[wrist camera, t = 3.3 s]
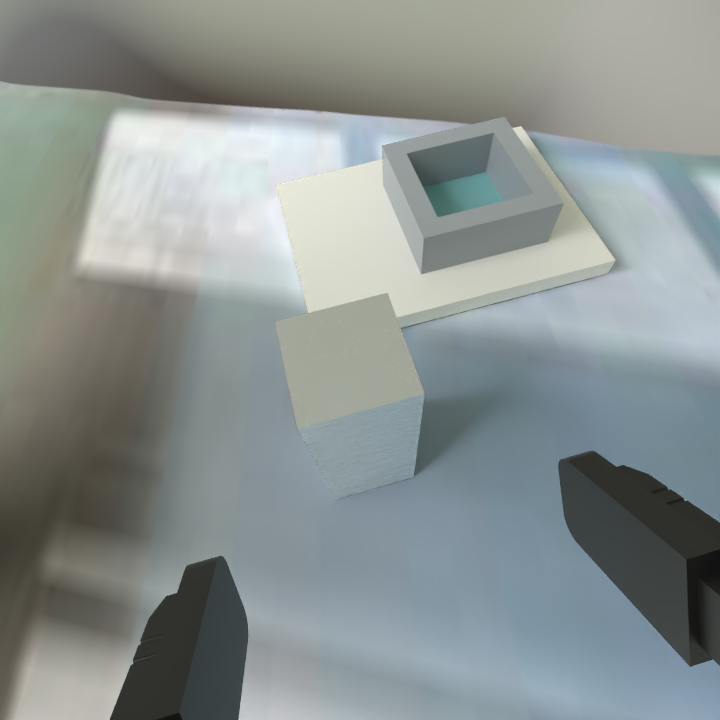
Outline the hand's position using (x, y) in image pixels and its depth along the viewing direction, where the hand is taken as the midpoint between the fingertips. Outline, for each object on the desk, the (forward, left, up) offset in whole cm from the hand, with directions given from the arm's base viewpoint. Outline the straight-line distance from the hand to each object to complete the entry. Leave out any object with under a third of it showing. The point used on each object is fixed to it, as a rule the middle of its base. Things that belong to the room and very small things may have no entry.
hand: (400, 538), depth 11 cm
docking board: (+8, +19, -12) cm, 24 cm away
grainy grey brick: (0, +6, -12) cm, 13 cm away
